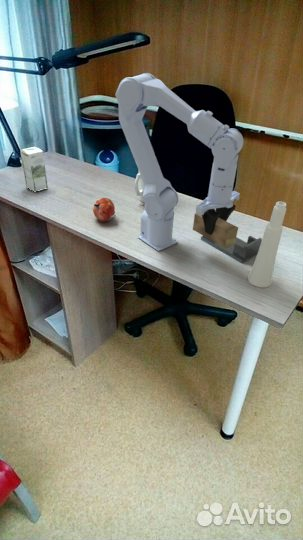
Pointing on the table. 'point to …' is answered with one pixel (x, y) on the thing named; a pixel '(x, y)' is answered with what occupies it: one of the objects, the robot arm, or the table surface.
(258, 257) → the cosmetic bottle
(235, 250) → the brackets
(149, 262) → the table surface
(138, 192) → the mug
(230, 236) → the brown wooden block
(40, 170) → the syrup box
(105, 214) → the pomegranate
